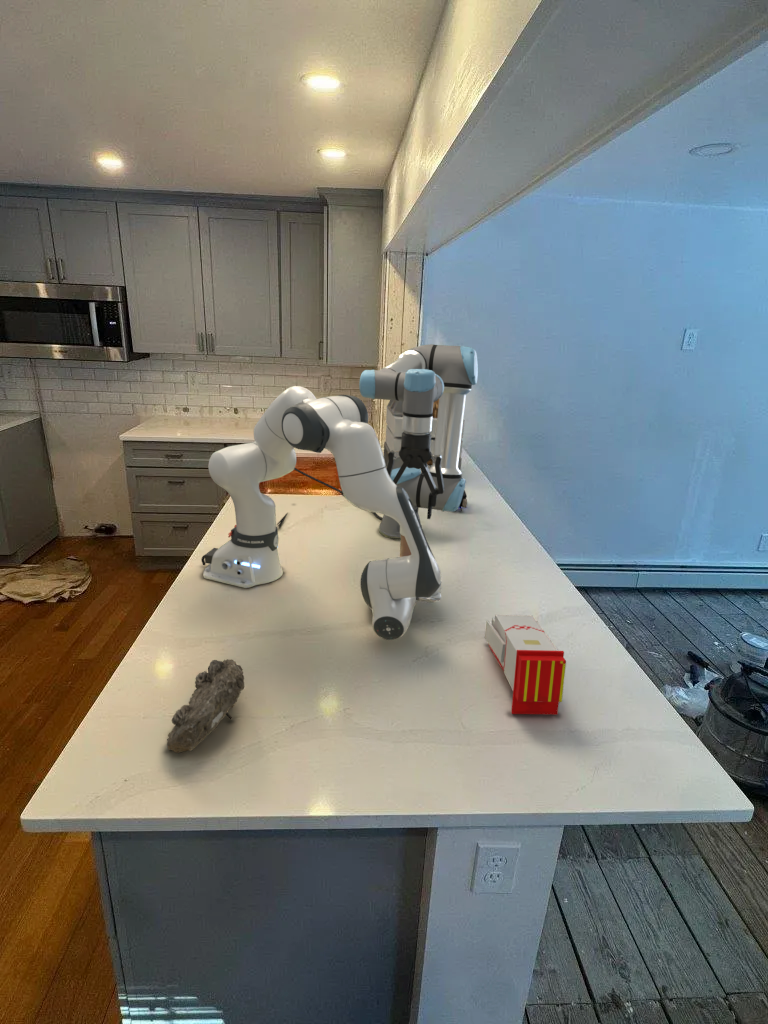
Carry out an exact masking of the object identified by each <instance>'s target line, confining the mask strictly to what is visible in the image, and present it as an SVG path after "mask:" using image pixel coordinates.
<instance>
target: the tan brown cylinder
mask: <svg viewBox="0 0 768 1024" xmlns="http://www.w3.org/2000/svg"><path fill="white" fill-rule="evenodd" d="M399 543H400V544H399V557H403V556H409V555H411V551H410V549H409V546H408V544H407V541H406V539H405V536H403V535H401V540H399Z"/></svg>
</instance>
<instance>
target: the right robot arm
mask: <svg viewBox="0 0 768 1024" xmlns="http://www.w3.org/2000/svg"><path fill="white" fill-rule="evenodd" d="M478 378H479V363H478V353H477V351H476V349H475V348H474V347H471V346H464V345H446V344H445V345H444V344H432V343H431V344H422V345H418V346H415V347H411V348H409V349H407V350H405V351H403V352H402V353H400V354H399V356H397V359H395V360H394V361H392V362H391V363H389V364H387V365H386V366H384V367H382V368H381V369H378V370H376V369H364V370H363V371H362V372H361V375H360V377H359V383H358V384H359V387H358V388H359V393H360V395H361V396H362V397H363V398H365V399H372V400H385V401H390V400H396V401H404V404H403V419H402V430H403V431H404V432H403V433H402V439H401V449H400V451H393V450H391V451H390V452H389V454H388V457H389V462H388V466H386V468H387V472H388V474H389V476H390V478H391V479H392V481H393V482H394V483H395V484H396V485H397V486H398V487H401V488H404V490H405V491H406V492H407V494H408V496H409V498H410V500H411V502H412V504H413V507H414V509H415V511H416V514H417V516H418V519H419V521H420V524H421V518H420V515H419V508H420V509H426V510H427V513H426V514H427V515H426V519H427V520H431V518H432V513H433V512H432V511H433V510H436V511H442V512H450V513H454V512H456V511H457V510H458V508H459V505H460V503H461V500H462V497H463V493H464V490H465V489H466V479H465V478H464V477H463V476H462V475H463V474H462V470H461V471H460V470H459V469H458V462H459V453H460V444H461V440H462V438H461V435H462V426H463V419H464V417H465V407H466V397H467V395H468V394H469V393H471V391H472V388H473V386H475V385H477V384H478ZM438 399H439V406H438V416H437V426H436V435H435V445H434V455H433V454H432V453H431V451H430V446H431V434H430V432H431V431H432V417H433V403H434V402H435V401H437V400H438ZM398 456H400V458H401V459H402V461H403V464H402V466H401V468H396V469H393V465H394V462H395V460H396V459H397V457H398ZM430 459H432V460H433V464H432V465H430V466H429V465H427V462H428V461H429V460H430ZM392 469H393V470H392ZM293 471H296V472H298V473H299V474H301V475H302V476H305V477H307V478H309V479H311V480H313V481H315V482H316V483H317V482H318V483H319V484H322V485H323V486H326V487H328V488H329V489H332V490H334V491H336V492H337V493H340V494H342V495H343V496H344V494H343V492H342V489H341V490H340V489H338V488H337V487H335V486H333V485H331V484H328V483H327V482H324V481H322V480H320V479H318V478H315V477H314V476H312V475H310V474H307V473H306V472H303V471H302V470H300V469H298V468H297V467H295V468H294V470H293ZM462 477H463V478H462ZM459 509H460V508H459ZM371 514H372V515H373V516H375V517H376V518H377V519H378V520H380V521H381V522H379V526H378V533H379V534H380V535H381V536H382V537H385V538H387V539H389V540H395V541H400V540H401V534H400V525H399V523H398V522H397V521H396V520H395V519H393V518H391V517H389V516H387V515H384V514H382V517H381V516H380V515H379V514H378V513H375V512H371ZM421 527H422V528H423V525H422V524H421Z"/></svg>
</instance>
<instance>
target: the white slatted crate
mask: <svg viewBox="0 0 768 1024" xmlns="http://www.w3.org/2000/svg"><path fill="white" fill-rule="evenodd" d="M388 401H389V402H388V404H387V405H386V413H385V414H386V415H385V423H386V428H385V438H384V442H383V456H384V459H385V464H386V467H387V466H388V462H389V457H388V454H389V452H390V451H391V450H393V451H400V449H401V439H402V433H403V432H404V431H403V430H402V419H403V404H404V401H396V400H388ZM438 406H439V399H438V400H437V401H435V402H434V403H433V417H432V431H431V432H430V434H431V446H430V451H431V453H432V454H433V455H434V445H435V435H436V426H437V416H438ZM464 429H465V419H464V418H463V426H462V435H461V444H460V453H459V462H458V469H459V470H460V471H461V472H462V461H463V460H462V453H463V442H464V441H463V440H462V439H463V438H464V431H465V430H464ZM402 464H403V461H402V459H401V458H400V456H398V457H397V459H396V460H395V462H394V465H393V469H396V468H401V466H402ZM432 464H433V460H432V459H430V460H429V461H428V462H427V465H428V467H431V466H432ZM393 469H392V470H393Z"/></svg>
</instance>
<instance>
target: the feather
mask: <svg viewBox="0 0 768 1024" xmlns="http://www.w3.org/2000/svg"><path fill="white" fill-rule="evenodd" d="M287 515H288V513H286V514H285V515H284V516H283V517H282V518H281V519H280V521H278V522H277V523H276V526H279V527H278V529H280V528H281V527H282V524H283V522H284V521H285V519H286V518H287Z"/></svg>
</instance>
